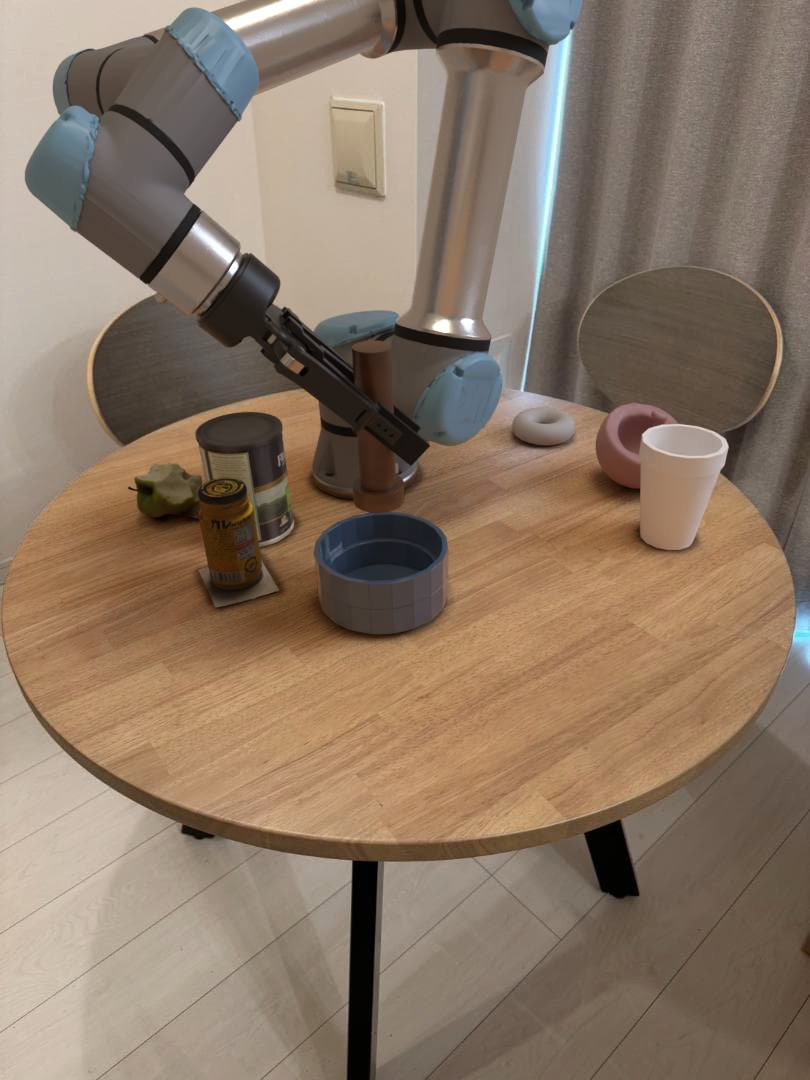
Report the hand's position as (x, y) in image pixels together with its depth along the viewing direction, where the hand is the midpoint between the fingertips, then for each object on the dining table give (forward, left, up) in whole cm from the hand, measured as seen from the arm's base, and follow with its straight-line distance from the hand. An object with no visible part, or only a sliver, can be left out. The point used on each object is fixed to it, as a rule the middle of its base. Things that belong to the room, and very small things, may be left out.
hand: (414, 445), depth 73 cm
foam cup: (-11, +31, -18) cm, 38 cm away
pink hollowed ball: (-25, +31, -18) cm, 44 cm away
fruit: (-21, -33, -18) cm, 43 cm away
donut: (-42, +21, -18) cm, 50 cm away
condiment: (-4, -21, -19) cm, 28 cm away
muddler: (+1, -4, -6) cm, 7 cm away
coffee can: (-16, -21, -18) cm, 32 cm away
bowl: (0, -4, -18) cm, 19 cm away
